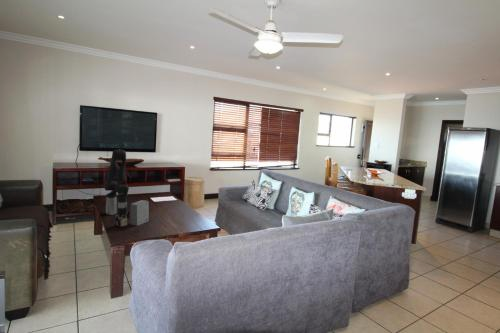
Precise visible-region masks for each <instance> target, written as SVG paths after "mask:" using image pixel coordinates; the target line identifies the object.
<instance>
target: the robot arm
mask: <svg viewBox="0 0 500 333" xmlns="http://www.w3.org/2000/svg"><path fill="white" fill-rule="evenodd" d="M117 161H121V164H120V166H119V164H118V163H117ZM126 163H127V153H126V151H125V149H114V150H113V151H112V154H111V160H110V166H109V168H108V173H107V177H106V180H105V182H104V186H103V187H104V190H105V191H110V192H108V193H106V197H105V198H106V199H105V201H106V203H105V214H106V215H108V216H109V215H111V216H113V215H114V218H115V222H116V223H117V222H118V225H119V226H118V225H117V226H118V227H121V226H120V221H121V219H122V218H123V217H124V218H127V220H128V219H129V218H130V211H128V202H127V200H128V193H129V189H130V187H129V185H128V184H122V183H126V182H127V177H126V175H127V174H126V168H127V167H126V166H127V164H126ZM116 178H117V181H116V180H115V179H116ZM117 193H118V194H119V195H118V196H117ZM121 193H122V194H121ZM117 213H118V214H117Z"/></svg>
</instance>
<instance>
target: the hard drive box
mask: <svg viewBox="0 0 500 333" xmlns="http://www.w3.org/2000/svg"><path fill="white" fill-rule="evenodd" d="M149 205H150V204H149V201H148V200H146V199H145V200H144V199H143V200H142V199H141V200H139V201H135V202H133V203H130V225H131V226H132V225H133V226H135V227H138V226H140V225H143V224H145V223H147V222H149V220H150V219H149V217H150V216H149V214H150V213H149V212H150V211H149V208H150V207H149Z"/></svg>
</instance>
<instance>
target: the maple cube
mask: <svg viewBox="0 0 500 333" xmlns="http://www.w3.org/2000/svg"><path fill="white" fill-rule="evenodd" d="M116 226H118V227H122V226H123V227H125V226H128V219H127V218H124V217H123V218H122V219H121V221H120V226H119V225H118V222H117V221H116Z"/></svg>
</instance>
